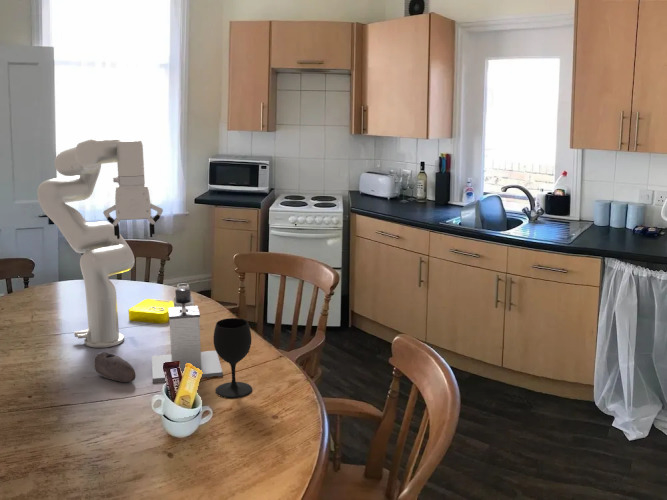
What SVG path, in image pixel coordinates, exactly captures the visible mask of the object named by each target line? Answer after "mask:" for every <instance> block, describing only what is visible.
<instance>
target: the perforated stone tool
mask: <svg viewBox="0 0 667 500" xmlns="http://www.w3.org/2000/svg"><path fill="white" fill-rule="evenodd" d="M94 370H95V372H96V373H97V374H99V375H101V376H102V377H104V378H106V379H109V380H113V381H117V382H121V383H133V382H134V381H135V379H136V376H137V374H136V370H135V368H134V367H133V366H132V364H130V362H128V361H127V360H125V359H123V358H122V357H120V356H118V355H116V354H114V353H113V354H112V353H109V352H106V351H104V352H100V353H98V354H96V355H95V356H94Z"/></svg>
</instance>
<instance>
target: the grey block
mask: <svg viewBox="0 0 667 500" xmlns="http://www.w3.org/2000/svg"><path fill="white" fill-rule="evenodd" d="M168 312H169V335H170V337H169V338H170V339H169V340H170V354H171V361H172V362H173V361H180V368H181V370H183V369H184V368H185V364H186V363H191V364H192V365H193V366H195V367H196V368H201V352H202V351H201V326H200V318H201V314H200V313H201V312H200V309H199V305H193V306H186V312H182V307H170V308H168Z"/></svg>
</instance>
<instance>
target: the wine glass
mask: <svg viewBox="0 0 667 500" xmlns="http://www.w3.org/2000/svg"><path fill="white" fill-rule="evenodd" d="M251 332H252V331H251V328H250V325H249V322H248V321H247V320H246V319H243V318H237V317H230V318H223V319H220V320H218V321H216V323H215V327H214V331H213V346H214V351H216V352H217V354H218V357H220V358H221V359H222V360H223V361H225V363H228V364H229V365H230V370H231V381H230V382H225V383H221V384H220V385H218V386H217V387H216V388H215V394H216V393H217V394H218V395H220V396H219V397H221V396H222V397H221V398H224V397H226V398H225V399H239V398H238V397H240V398H244V397H247V396H248V395H250V394H251V393H252V392H253V387H252V385H251V384H249V383H247V382H242V381H237V380H236V366H237V364H238V363H239V362H241V361H242V360H243V359H245V358H246V356H247V355H248V354H249V352H250V350H251V346H252V333H251ZM217 394H216V395H217ZM218 395H217V396H218ZM246 395H247V396H246ZM243 396H244V397H243Z"/></svg>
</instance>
